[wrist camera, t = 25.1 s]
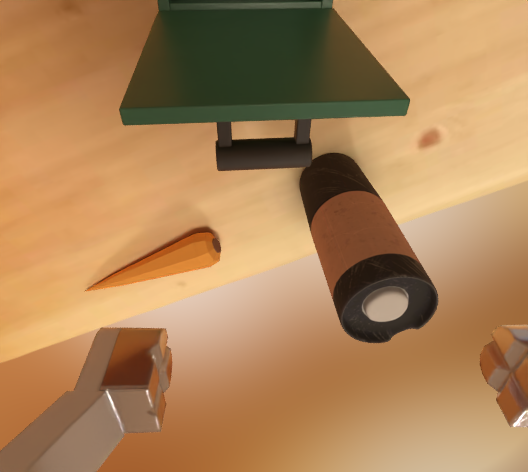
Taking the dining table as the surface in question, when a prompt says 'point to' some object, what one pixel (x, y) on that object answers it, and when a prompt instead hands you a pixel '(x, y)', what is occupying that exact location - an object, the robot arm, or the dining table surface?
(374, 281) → the travel mug
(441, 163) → the dining table surface
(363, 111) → the lunchbox lid
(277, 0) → the box
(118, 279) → the carrot
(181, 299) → the dining table surface
